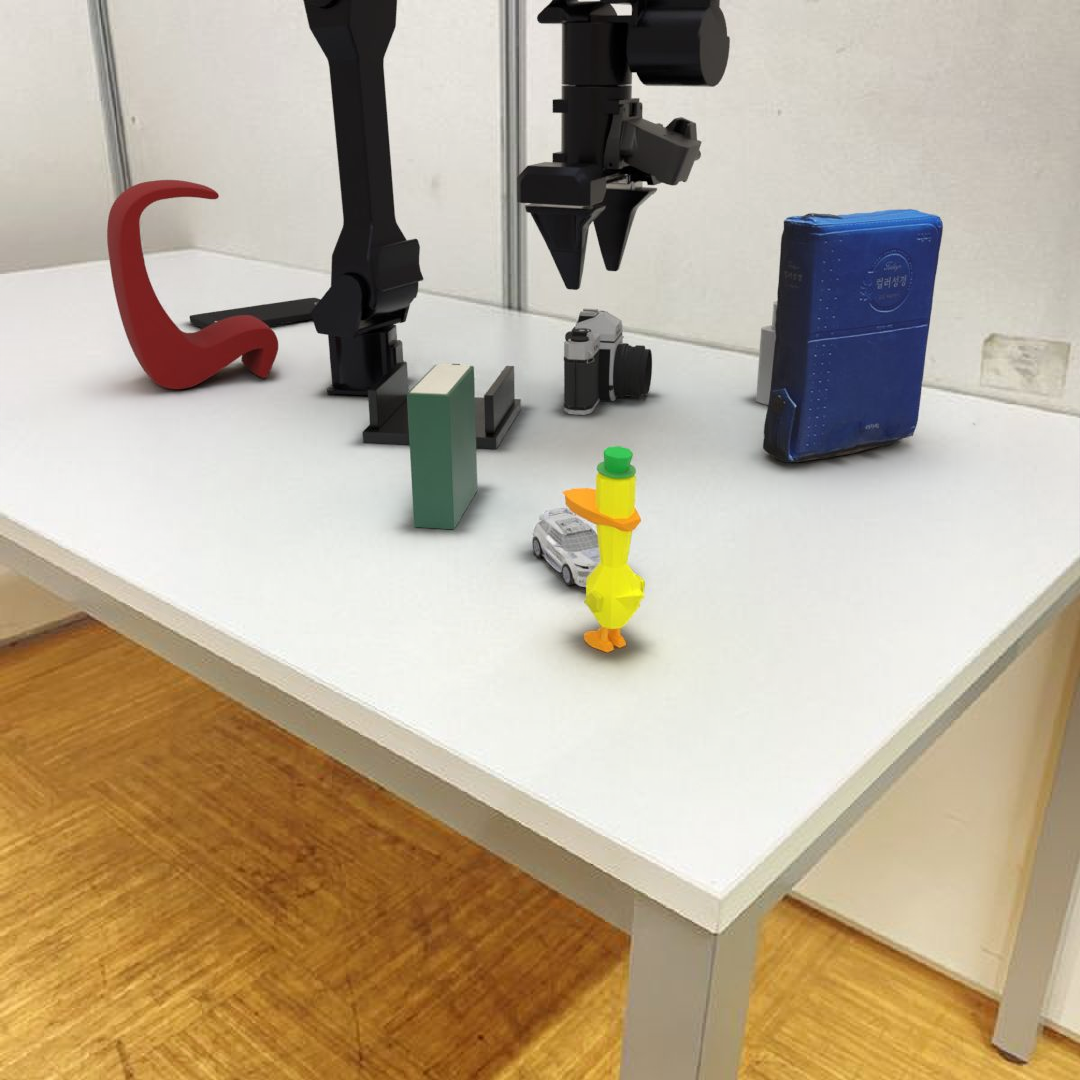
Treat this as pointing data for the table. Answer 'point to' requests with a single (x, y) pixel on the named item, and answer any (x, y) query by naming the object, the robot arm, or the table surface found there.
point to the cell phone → (263, 313)
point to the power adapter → (766, 360)
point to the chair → (145, 321)
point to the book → (850, 331)
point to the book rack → (393, 409)
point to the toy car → (567, 545)
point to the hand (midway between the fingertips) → (593, 279)
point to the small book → (442, 445)
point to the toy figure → (611, 546)
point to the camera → (602, 363)
